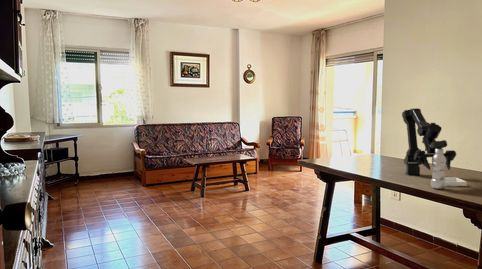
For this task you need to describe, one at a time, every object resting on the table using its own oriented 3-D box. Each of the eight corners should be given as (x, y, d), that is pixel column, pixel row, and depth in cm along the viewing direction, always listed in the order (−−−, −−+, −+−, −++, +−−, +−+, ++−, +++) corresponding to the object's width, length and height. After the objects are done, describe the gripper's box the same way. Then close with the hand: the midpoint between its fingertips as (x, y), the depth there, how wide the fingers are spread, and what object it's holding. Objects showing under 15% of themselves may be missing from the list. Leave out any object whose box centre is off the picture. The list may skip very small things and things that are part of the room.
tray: (442, 186, 179) (442, 181, 178) (433, 181, 189) (434, 177, 189) (466, 186, 177) (467, 181, 177) (456, 181, 188) (456, 177, 187)
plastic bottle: (440, 186, 178) (441, 148, 176) (448, 190, 171) (449, 149, 169) (427, 187, 178) (428, 148, 176) (435, 190, 171) (436, 150, 169)
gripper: (416, 135, 178) (424, 159, 168) (455, 134, 175) (466, 159, 165) (410, 148, 186) (417, 172, 176) (447, 148, 184) (457, 172, 174)
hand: (439, 169), depth 173 cm, fingers open, 9 cm apart
